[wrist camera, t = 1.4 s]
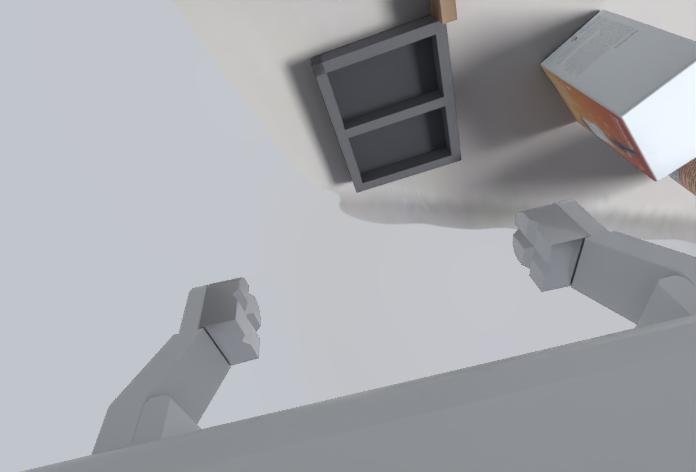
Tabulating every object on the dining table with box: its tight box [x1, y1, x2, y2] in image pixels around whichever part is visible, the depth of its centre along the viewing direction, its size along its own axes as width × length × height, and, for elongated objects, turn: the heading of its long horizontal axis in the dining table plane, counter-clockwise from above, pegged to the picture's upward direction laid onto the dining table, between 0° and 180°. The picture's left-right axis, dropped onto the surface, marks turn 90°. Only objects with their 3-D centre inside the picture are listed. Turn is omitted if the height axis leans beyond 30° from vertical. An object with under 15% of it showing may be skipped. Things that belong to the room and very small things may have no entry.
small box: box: [540, 10, 696, 181], centre depth 29 cm, size 8×6×10 cm
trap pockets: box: [311, 15, 461, 192], centre depth 32 cm, size 10×12×2 cm
